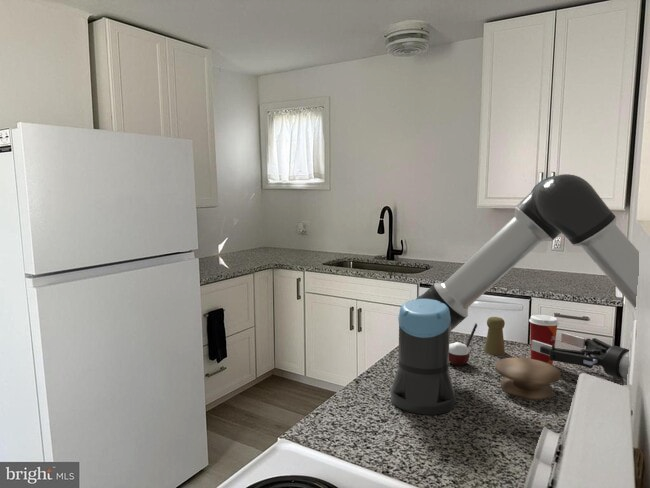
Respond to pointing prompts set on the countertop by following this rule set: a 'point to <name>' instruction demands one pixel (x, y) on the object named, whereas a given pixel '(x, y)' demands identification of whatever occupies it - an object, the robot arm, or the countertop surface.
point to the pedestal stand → (527, 377)
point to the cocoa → (460, 351)
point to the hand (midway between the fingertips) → (547, 340)
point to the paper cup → (543, 334)
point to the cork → (495, 336)
